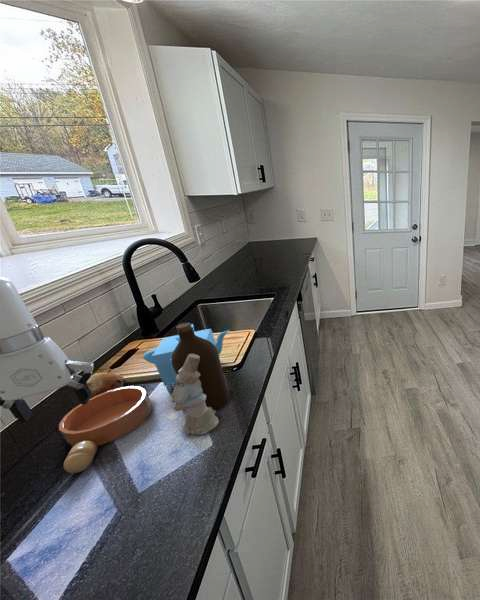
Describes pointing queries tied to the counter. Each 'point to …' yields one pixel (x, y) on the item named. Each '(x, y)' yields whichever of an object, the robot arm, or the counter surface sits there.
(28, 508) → the counter surface
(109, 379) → the bread roll
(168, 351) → the light blue teapot
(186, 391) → the figurine
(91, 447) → the potato
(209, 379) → the olive oil
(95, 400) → the terracotta dish
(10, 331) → the robot arm
